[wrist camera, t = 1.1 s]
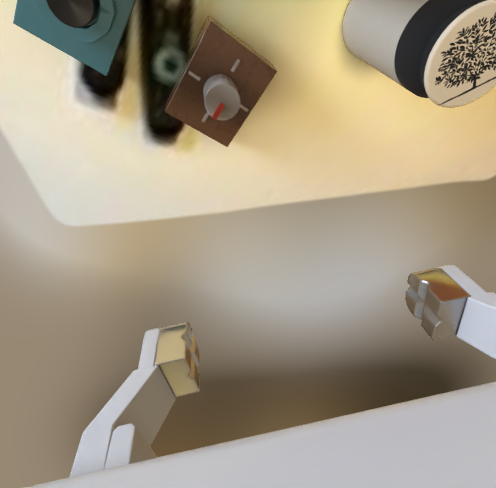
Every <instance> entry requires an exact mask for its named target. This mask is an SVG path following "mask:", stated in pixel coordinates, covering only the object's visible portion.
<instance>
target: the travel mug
mask: <svg viewBox="0 0 496 488" xmlns="http://www.w3.org/2000/svg"><path fill="white" fill-rule="evenodd" d="M343 37H344V41H345V44H346V46H347V48H348V49H349V51H350V52H351V53H353V54H354V55H355V56H357V57H358V58H360V59H361V60H363V61H365V62H366V63H368V64H369V65H371V66H372V67H374V68H375V69H377V70H378V71H380V72H381V73H383V74H384V75H386V76H387V77H389V78H391V79H392V80H394V81H395V82H397V83H398V84H400V85H401V86H403V87H404V88H406V89H407V90H409V91H410V92H412V93H414V94H415V95H417V96H420V97H424V98H430V100H431V101H432V102H434V103H435V104H437V105H439V106H442V107H449V108H451V107H459V106H463V105H466V104H468V103H470V102H473V101H475V100H476V99H478V98H480V97H481V96H483V95H484V94H486V93H487V92H488V91H489V90H490V89H492V88H493V87H494V86H495V85H496V0H351V1H350V3H349V5H348V7H347V10H346V13H345V16H344V21H343Z"/></svg>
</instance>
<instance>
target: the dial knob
mask: <svg viewBox="0 0 496 488" xmlns="http://www.w3.org/2000/svg"><path fill="white" fill-rule="evenodd" d="M203 96H204V103H205V108H206V110H207V112H208V114H209V115H210V116H211V117H212V118H213V119H215V120H216V119H217V120H228V119H231V118H232V117H234V116H235V115H236V114H237V112H238V110H239V108H240V96H239V93H238V91H237V88H236V85H235V83H234V82H233V80H232V79H231V78H230V77H228V76H226V75H223V74H217V75H213V76H211V77H210V78H209V79H208V80H207V81H206V83H205V85H204V88H203Z"/></svg>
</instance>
